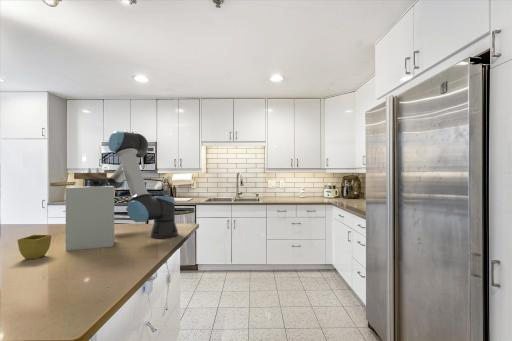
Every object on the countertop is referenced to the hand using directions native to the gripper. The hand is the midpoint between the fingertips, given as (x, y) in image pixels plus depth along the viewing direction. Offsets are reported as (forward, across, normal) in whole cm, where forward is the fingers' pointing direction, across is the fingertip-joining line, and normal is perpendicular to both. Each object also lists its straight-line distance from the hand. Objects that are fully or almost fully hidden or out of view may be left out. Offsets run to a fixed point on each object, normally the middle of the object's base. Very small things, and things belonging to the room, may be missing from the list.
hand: (93, 170), depth 150 cm
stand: (-13, 0, -37) cm, 39 cm away
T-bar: (-3, 0, -3) cm, 4 cm away
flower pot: (-2, +20, -43) cm, 48 cm away
